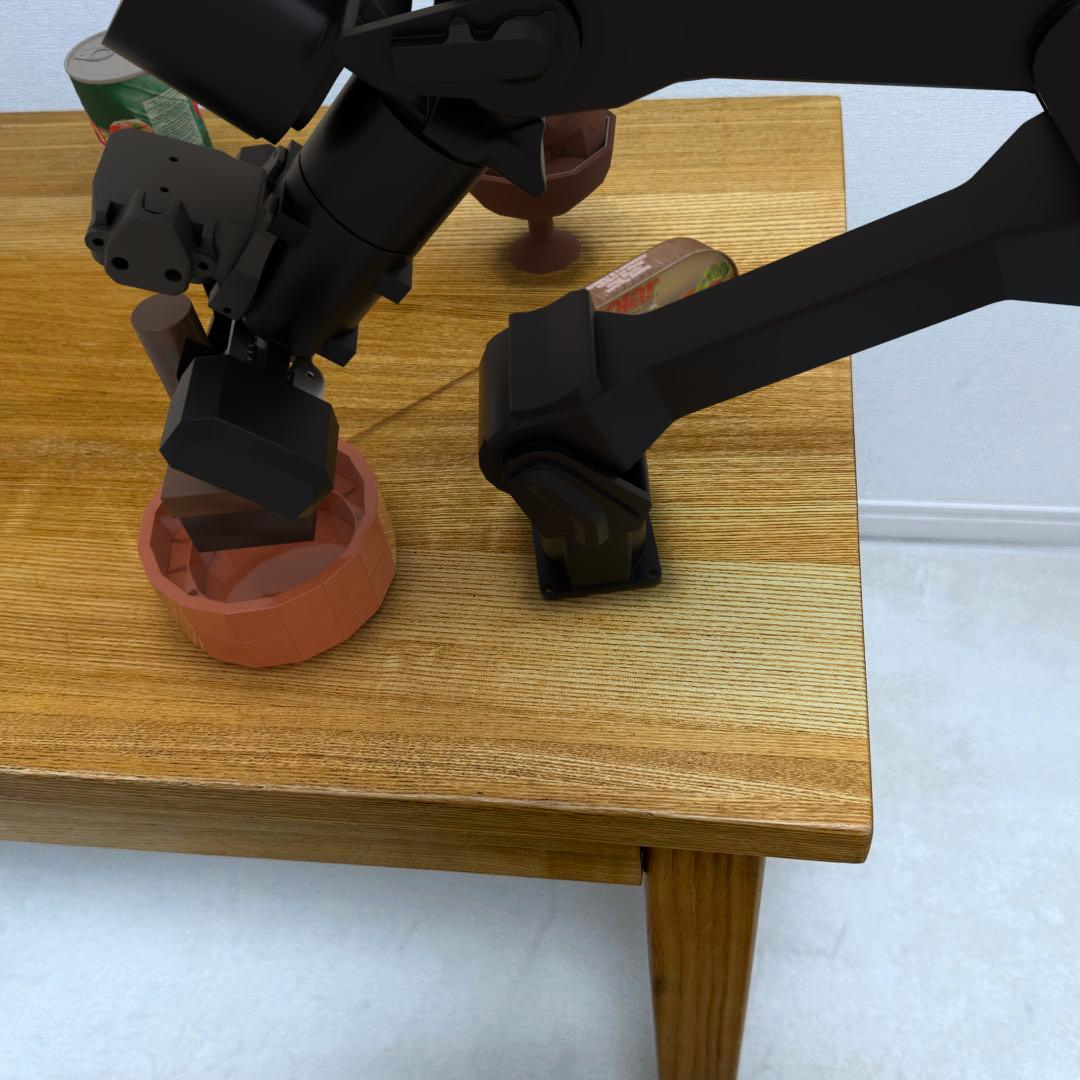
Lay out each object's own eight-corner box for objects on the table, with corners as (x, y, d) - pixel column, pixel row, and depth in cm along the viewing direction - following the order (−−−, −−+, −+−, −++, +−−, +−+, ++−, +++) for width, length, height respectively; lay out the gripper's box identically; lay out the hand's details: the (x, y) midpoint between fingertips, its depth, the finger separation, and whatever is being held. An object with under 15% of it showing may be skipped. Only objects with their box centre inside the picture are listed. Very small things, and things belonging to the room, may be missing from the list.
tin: (550, 460, 63) (535, 351, 56) (519, 431, 65) (501, 322, 58) (741, 343, 68) (748, 230, 61) (708, 319, 69) (711, 207, 63)
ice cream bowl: (624, 207, 78) (616, -3, 66) (616, 308, 71) (604, 94, 59) (480, 211, 79) (446, 6, 67) (458, 310, 72) (417, 102, 61)
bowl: (400, 654, 56) (378, 593, 51) (164, 687, 56) (122, 629, 51) (396, 477, 63) (376, 411, 59) (189, 507, 64) (154, 443, 59)
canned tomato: (237, 156, 87) (189, 21, 78) (204, 215, 82) (150, 78, 74) (146, 157, 88) (89, 24, 80) (109, 215, 84) (45, 80, 75)
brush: (325, 478, 57) (242, 269, 46) (318, 544, 54) (228, 336, 43) (206, 491, 57) (97, 286, 46) (193, 557, 54) (74, 354, 44)
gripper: (203, -47, 43) (60, 221, 52) (109, 235, 31) (-53, 517, 40) (434, 111, 49) (269, 328, 58) (428, 400, 37) (222, 614, 46)
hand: (188, 428), depth 50 cm, fingers closed on brush, 2 cm apart
